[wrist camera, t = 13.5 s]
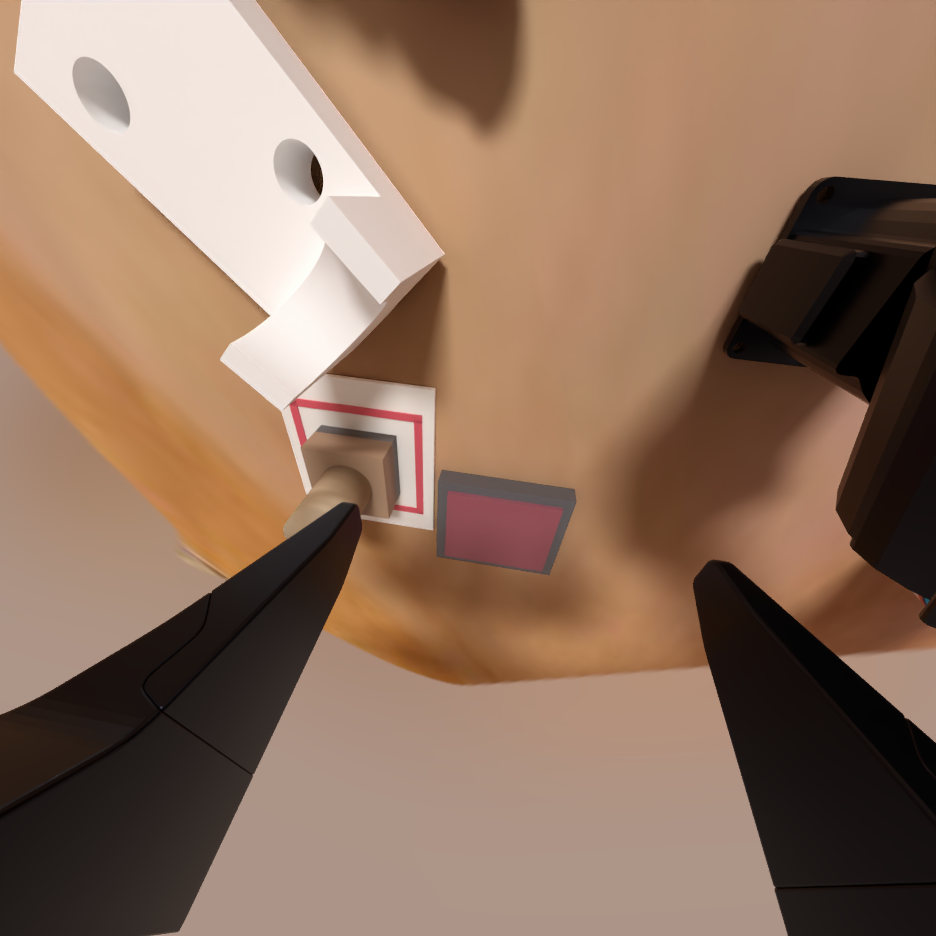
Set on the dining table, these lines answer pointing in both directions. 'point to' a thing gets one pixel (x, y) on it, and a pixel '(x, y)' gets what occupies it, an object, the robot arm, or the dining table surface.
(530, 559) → the ink pad
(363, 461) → the stamp
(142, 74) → the bracket
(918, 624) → the dining table surface
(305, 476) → the paper card
